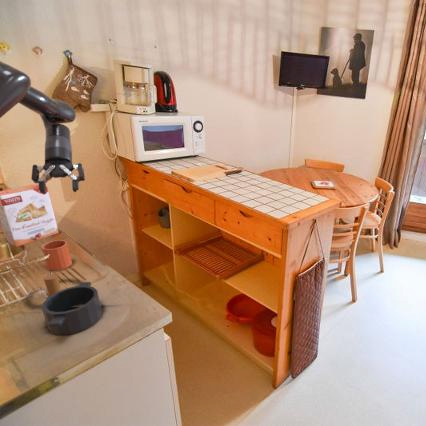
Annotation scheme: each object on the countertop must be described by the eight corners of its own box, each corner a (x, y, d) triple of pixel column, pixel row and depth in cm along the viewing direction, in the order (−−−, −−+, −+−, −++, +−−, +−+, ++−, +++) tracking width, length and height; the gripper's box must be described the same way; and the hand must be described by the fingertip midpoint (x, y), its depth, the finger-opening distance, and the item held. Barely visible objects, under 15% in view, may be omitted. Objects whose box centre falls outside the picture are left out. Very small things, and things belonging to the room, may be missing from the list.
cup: (44, 273, 103) (37, 249, 100) (55, 263, 109) (48, 240, 105) (67, 272, 104) (60, 249, 101) (76, 262, 110) (70, 239, 107)
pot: (32, 346, 77) (24, 323, 74) (68, 301, 92) (62, 281, 90) (86, 341, 80) (80, 319, 77) (112, 298, 95) (108, 278, 92)
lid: (17, 312, 87) (9, 291, 84) (43, 285, 98) (37, 265, 95) (70, 309, 89) (64, 288, 87) (89, 283, 101) (85, 263, 98)
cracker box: (17, 250, 114) (-1, 195, 106) (8, 245, 117) (-11, 192, 109) (60, 235, 126) (47, 185, 118) (52, 231, 128) (38, 182, 120)
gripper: (28, 146, 107) (28, 188, 102) (79, 145, 113) (81, 185, 109) (37, 157, 114) (37, 198, 109) (85, 156, 120) (87, 194, 115)
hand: (59, 192), depth 109 cm, fingers open, 8 cm apart
